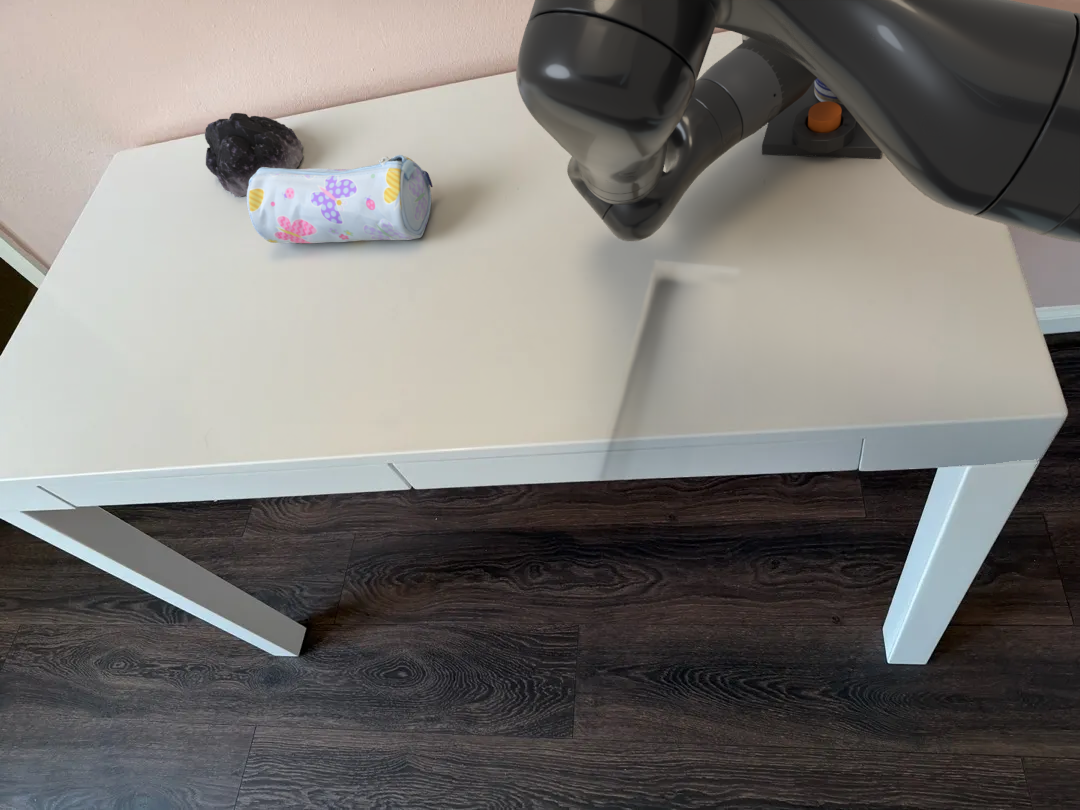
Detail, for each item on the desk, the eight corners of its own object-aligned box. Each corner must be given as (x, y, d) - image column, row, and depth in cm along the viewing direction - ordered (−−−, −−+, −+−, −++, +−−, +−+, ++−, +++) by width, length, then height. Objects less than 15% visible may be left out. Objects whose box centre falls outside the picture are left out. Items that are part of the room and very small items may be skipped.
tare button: (842, 114, 80) (843, 101, 79) (838, 134, 79) (839, 121, 78) (810, 113, 82) (811, 100, 80) (805, 133, 80) (806, 121, 79)
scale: (896, 73, 86) (900, 48, 83) (879, 165, 79) (882, 142, 76) (785, 73, 90) (785, 50, 88) (759, 161, 83) (759, 138, 81)
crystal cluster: (250, 137, 112) (203, 82, 104) (324, 130, 106) (279, 70, 98) (211, 208, 106) (157, 155, 98) (286, 204, 101) (235, 147, 92)
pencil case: (444, 200, 92) (415, 135, 85) (427, 254, 88) (395, 190, 80) (294, 211, 98) (254, 151, 91) (271, 262, 94) (227, 204, 86)
